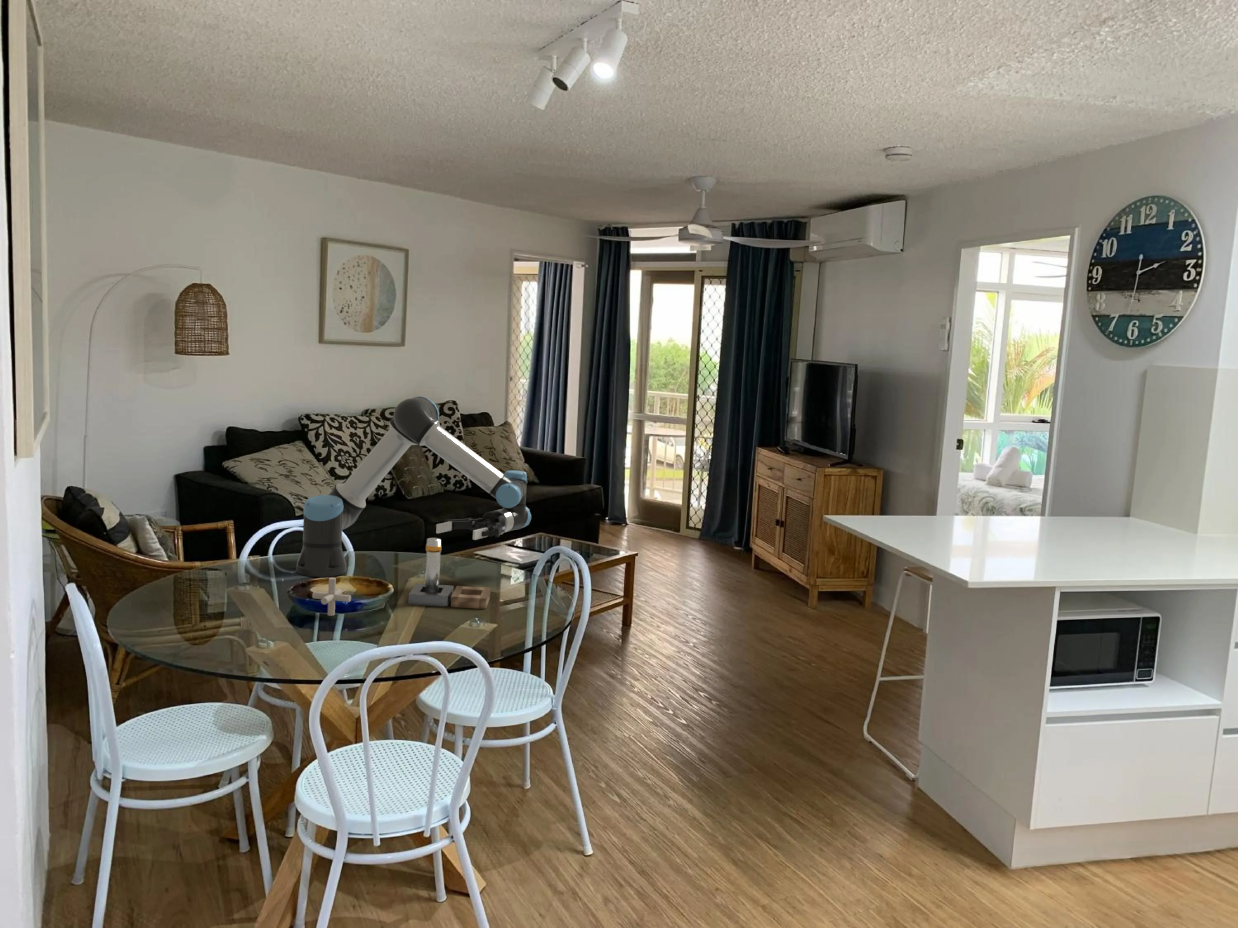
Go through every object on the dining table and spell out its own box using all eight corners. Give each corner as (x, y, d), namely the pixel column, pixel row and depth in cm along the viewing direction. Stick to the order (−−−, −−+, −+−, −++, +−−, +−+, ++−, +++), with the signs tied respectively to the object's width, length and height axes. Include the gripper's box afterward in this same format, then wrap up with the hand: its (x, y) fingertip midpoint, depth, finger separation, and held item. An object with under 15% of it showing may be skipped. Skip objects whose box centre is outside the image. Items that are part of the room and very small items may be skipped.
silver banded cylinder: (422, 601, 264) (425, 540, 262) (424, 597, 269) (427, 537, 266) (437, 602, 264) (440, 541, 262) (439, 598, 269) (442, 538, 267)
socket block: (408, 604, 260) (408, 594, 260) (415, 593, 272) (416, 583, 272) (447, 606, 261) (447, 596, 261) (452, 595, 273) (453, 585, 272)
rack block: (450, 606, 261) (451, 596, 261) (456, 595, 273) (456, 585, 272) (485, 608, 261) (486, 598, 261) (489, 597, 273) (490, 587, 273)
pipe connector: (356, 611, 250) (357, 575, 249) (341, 621, 240) (343, 584, 239) (321, 607, 251) (322, 572, 250) (305, 618, 241) (306, 581, 240)
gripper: (528, 539, 287) (489, 550, 268) (464, 528, 298) (422, 538, 279) (530, 515, 286) (490, 525, 267) (465, 505, 297) (422, 514, 278)
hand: (455, 532), depth 273 cm, fingers open, 13 cm apart
